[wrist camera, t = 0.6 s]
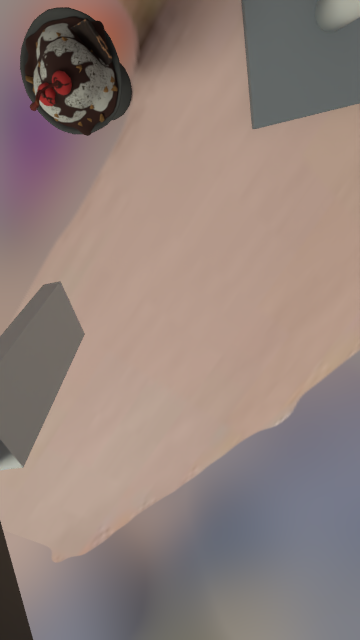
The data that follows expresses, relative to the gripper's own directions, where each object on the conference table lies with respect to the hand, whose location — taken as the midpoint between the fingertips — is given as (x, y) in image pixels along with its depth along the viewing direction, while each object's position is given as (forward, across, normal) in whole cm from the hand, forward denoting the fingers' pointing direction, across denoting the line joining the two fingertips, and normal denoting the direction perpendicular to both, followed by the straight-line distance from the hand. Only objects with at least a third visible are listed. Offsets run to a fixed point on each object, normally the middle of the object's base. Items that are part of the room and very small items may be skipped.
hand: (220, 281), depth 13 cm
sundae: (+25, -7, +9) cm, 27 cm away
